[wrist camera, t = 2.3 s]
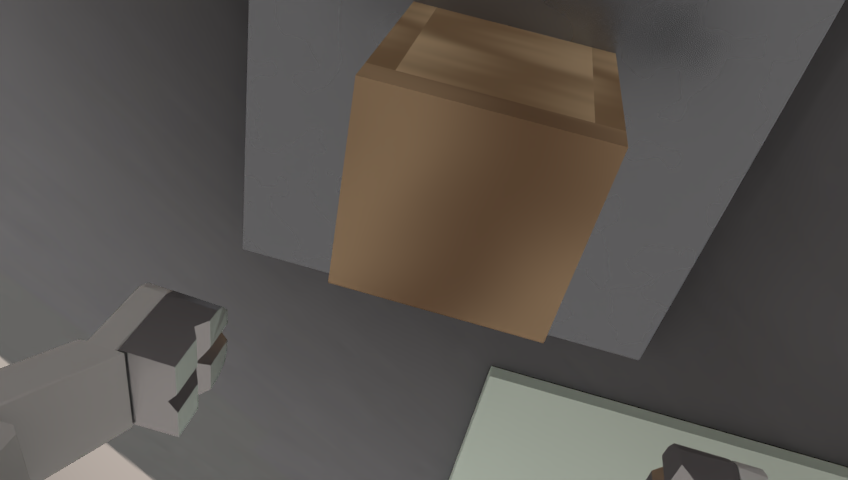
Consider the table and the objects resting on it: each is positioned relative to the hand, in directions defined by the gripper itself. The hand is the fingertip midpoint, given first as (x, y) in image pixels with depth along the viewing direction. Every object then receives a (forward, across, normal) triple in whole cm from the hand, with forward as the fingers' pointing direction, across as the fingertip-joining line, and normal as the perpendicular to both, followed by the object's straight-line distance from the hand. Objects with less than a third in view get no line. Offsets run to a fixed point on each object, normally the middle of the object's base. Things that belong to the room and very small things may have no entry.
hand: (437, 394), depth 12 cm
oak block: (+11, +1, 0) cm, 11 cm away
